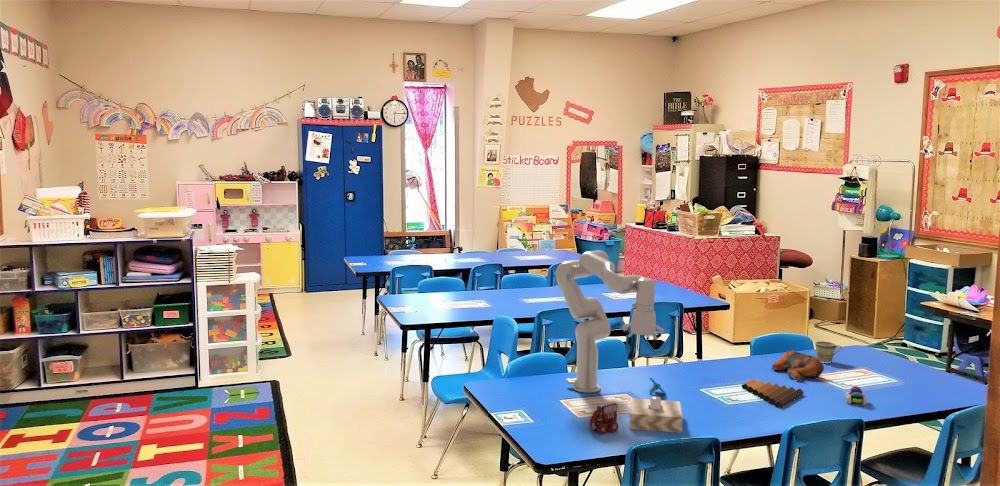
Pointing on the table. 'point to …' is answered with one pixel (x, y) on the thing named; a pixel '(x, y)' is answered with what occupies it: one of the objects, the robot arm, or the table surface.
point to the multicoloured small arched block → (856, 396)
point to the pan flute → (772, 392)
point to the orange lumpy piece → (799, 365)
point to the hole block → (655, 416)
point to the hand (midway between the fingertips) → (641, 347)
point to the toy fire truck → (604, 418)
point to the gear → (656, 387)
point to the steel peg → (655, 403)
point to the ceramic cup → (825, 351)
